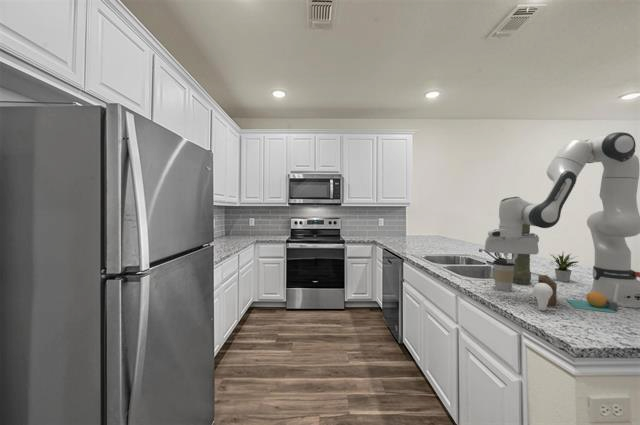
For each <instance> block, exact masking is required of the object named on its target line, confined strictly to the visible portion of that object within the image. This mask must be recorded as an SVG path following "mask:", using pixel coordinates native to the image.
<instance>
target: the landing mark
mask: <svg viewBox="0 0 640 425" xmlns="http://www.w3.org/2000/svg"><path fill="white" fill-rule="evenodd" d="M565 301H567V302H568V303H569V304H570V305H571V306H572V307H573V308H575V309H579V310H586V311H587V310H588V311H596V312H603V313H604V312H605V313H613V314H616V312H617V311H613V310H610V309H609V308H607V307H606V306H602V307H595V306H592V305H591V304H589V303H588V301H587V300H586V301H585V300H579V299H578V300H577V299H570V298H565Z"/></svg>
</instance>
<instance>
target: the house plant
mask: <svg viewBox="0 0 640 425" xmlns="http://www.w3.org/2000/svg"><path fill="white" fill-rule="evenodd" d="M564 253H565V252H564V251H562V254H561V255H560V254H559V253H558V254H557V256H558V257H556V256H555V255H553V254H552V253H551V254H550V253H549V255H550V256H551V257H552V258H553V259H554V262H553V261H551V262H549V264H550V265H553V266H557V268H555V267H554V271H555V272H554V273H555V277H556V278H555V279H556V281H557V280H558V281H557V282H560V281H562V282H561V283H569V282H570V279H571V277H572V276H571V275H572V270H571V269H570V267H573V266H574V267H575V268H577V267H578V265H577V264H576V263H578V260H576V261H575V260H574V259H575V258H576V257H579V255H578V256H577V255H576V256H573V257H570V256H571V253H569V254H567V255H566V256H565V257H564ZM572 260H574V261H572ZM568 268H569V269H568Z"/></svg>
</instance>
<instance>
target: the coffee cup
mask: <svg viewBox="0 0 640 425" xmlns="http://www.w3.org/2000/svg"><path fill="white" fill-rule="evenodd" d="M492 265H493V276H494V277H493V278H494V288H495V289H496V290H498V291H502V290H503V292H511V291H512V290H513V283H512V282H513V275H514V264H513V263H507V259H506V258H505V257H497V258H495V259H494V260H493V261H492Z"/></svg>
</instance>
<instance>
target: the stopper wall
mask: <svg viewBox="0 0 640 425" xmlns="http://www.w3.org/2000/svg"><path fill="white" fill-rule="evenodd" d="M604 306H606V307H607V308H609V309H610V310H613V311H614V312H618V306H617V303H616V302H614V301H613V300H611V299H607V302H606V304H605V305H604Z"/></svg>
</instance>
